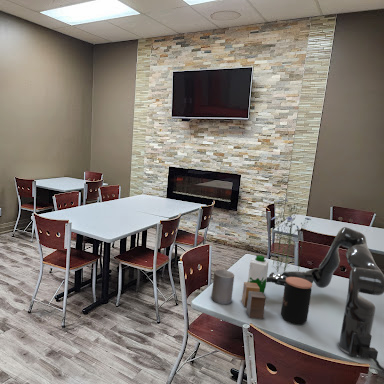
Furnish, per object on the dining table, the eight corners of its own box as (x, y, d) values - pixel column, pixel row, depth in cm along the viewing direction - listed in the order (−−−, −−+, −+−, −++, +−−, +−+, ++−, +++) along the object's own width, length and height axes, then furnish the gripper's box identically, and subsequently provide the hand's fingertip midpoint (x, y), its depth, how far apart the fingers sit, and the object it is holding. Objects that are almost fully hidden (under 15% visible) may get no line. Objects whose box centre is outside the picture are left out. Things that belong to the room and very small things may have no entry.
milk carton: (265, 293, 177) (270, 257, 173) (262, 300, 169) (267, 262, 166) (248, 289, 181) (252, 253, 178) (244, 295, 173) (249, 258, 170)
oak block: (257, 308, 160) (259, 288, 159) (244, 306, 161) (246, 287, 159) (254, 302, 166) (256, 283, 164) (241, 300, 167) (243, 281, 165)
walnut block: (263, 319, 150) (265, 298, 149) (249, 317, 151) (251, 296, 149) (259, 312, 156) (262, 292, 155) (246, 310, 157) (248, 290, 155)
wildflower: (307, 280, 198) (318, 205, 191) (266, 274, 202) (276, 201, 195) (296, 266, 220) (306, 199, 213) (259, 262, 224) (268, 195, 217)
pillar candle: (207, 295, 170) (210, 267, 167) (224, 294, 173) (227, 266, 170) (218, 305, 161) (221, 275, 158) (235, 303, 164) (239, 274, 161)
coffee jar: (284, 310, 159) (289, 274, 156) (309, 319, 153) (314, 281, 150) (277, 319, 151) (282, 281, 148) (303, 328, 144) (309, 289, 141)
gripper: (286, 267, 184) (258, 268, 180) (303, 277, 172) (273, 278, 168) (284, 280, 186) (256, 281, 182) (301, 290, 173) (271, 292, 169)
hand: (264, 279), depth 175 cm, fingers closed
